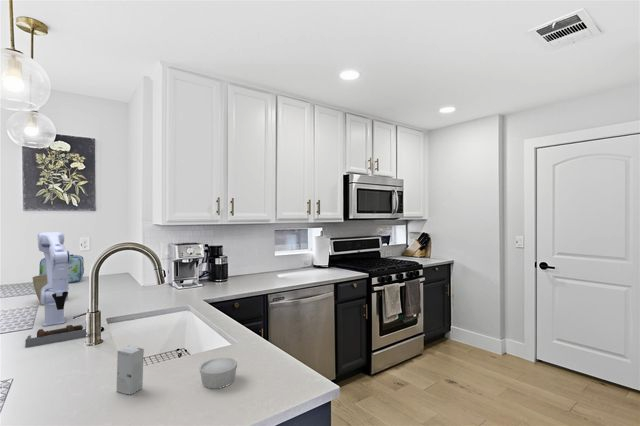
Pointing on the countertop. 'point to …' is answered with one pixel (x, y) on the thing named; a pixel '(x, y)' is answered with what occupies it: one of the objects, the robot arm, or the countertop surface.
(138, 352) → the skincare box
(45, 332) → the bolt
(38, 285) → the plant pot
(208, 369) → the ramekin
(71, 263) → the lunch box
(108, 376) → the countertop surface
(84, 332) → the bracket
